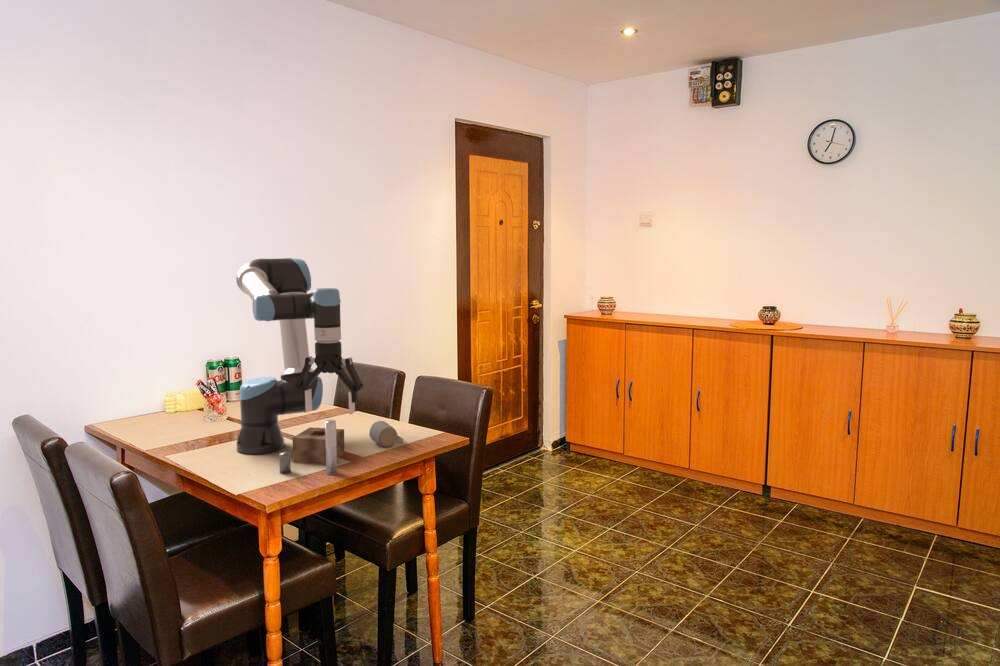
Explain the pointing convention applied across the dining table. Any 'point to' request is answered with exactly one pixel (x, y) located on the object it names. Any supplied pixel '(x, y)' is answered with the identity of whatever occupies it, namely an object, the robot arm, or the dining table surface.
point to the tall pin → (331, 447)
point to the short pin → (284, 462)
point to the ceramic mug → (384, 434)
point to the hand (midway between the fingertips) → (330, 412)
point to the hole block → (315, 446)
